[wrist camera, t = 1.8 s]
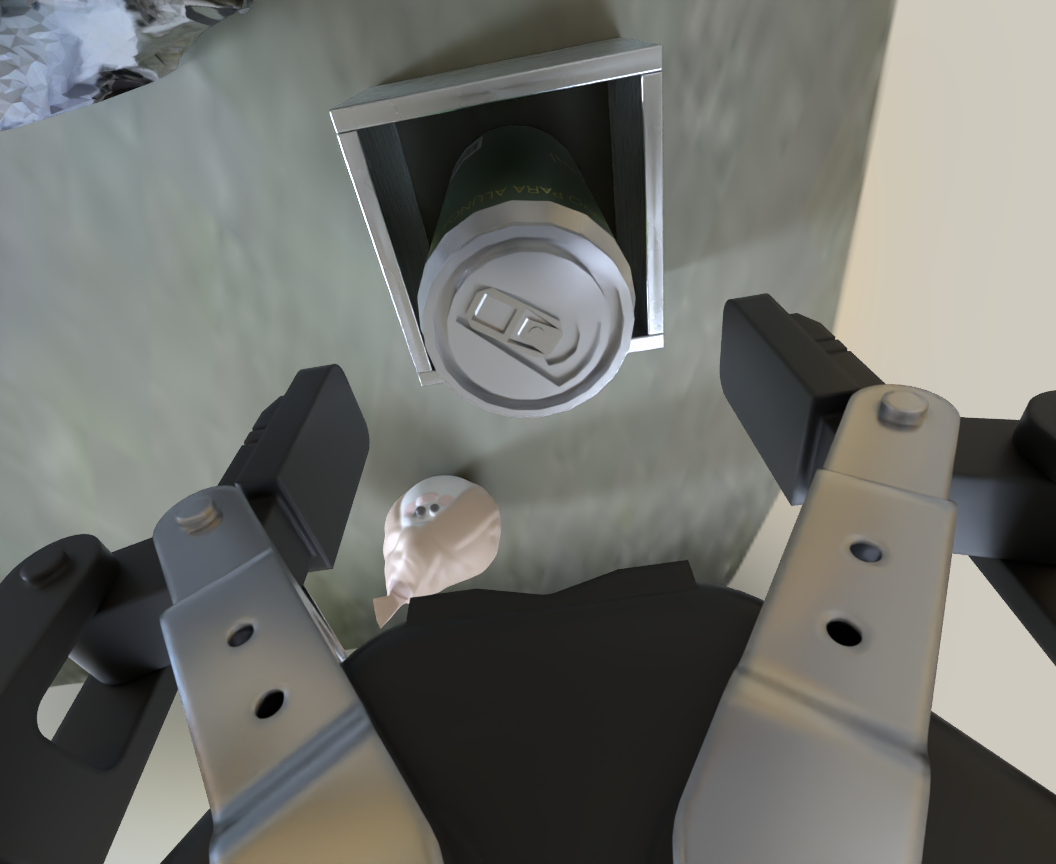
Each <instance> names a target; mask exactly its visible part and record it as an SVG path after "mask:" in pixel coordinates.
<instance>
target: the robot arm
mask: <svg viewBox="0 0 1056 864" xmlns="http://www.w3.org/2000/svg"><path fill="white" fill-rule="evenodd" d="M720 379H721V385H722V389H723V392H724V395H725V397H726V398H727V400H728V402H729V403H730V405H731V407H732V408H733V410H734V412H735V413H736V415H737V417H738V418H739V420H740V422H741V423H742V425H743V427H744V428H745V430H746V432H747V433H748V435H749V437H750V438H751V440H752V442H753V443H754V445H755V447H756V448H757V450H758V451H759V453H760V455H761V456H762V458H763V460H764V461H765V463H766V465H767V466H768V468H769V470H770V471H771V473H772V475H773V476H774V478H775V480H776V481H777V483H778V485H779V486H780V488H781V490H782V491H783V493H784V495H785V496H786V498H787V499H788V501H789V503H790V505H791V506H794V505H802V504H803V505H802V508H801V510H800V513H799V515H798V518H797V520H796V523H795V525H794V528H793V530H792V533H791V535H790V538H789V541H788V543H787V546H786V548H785V550H784V553H783V555H782V558H781V560H780V563H779V566H778V568H777V571H776V573H775V576H774V578H773V581H772V583H771V586H770V588H769V591H768V593H767V596H766V598H765V601H763V600H761V599H759V598H757V597H754V596H752V595H749V594H747V593H745V592H742V591H739V590H735V589H732V588H729V587H725V586H721V585H716V584H711V583H705V582H695V579H694V576H693V573H692V570H691V567H690V564H689V562H688V560H684V561H677V562H670V563H662V564H655V565H647V566H640V567H633V568H625V569H618V570H615V571H613V572H610V573H607V574H604V575H602V576H599V577H596V578H594V579H591V580H588V581H586V582H583V583H580V584H577V585H575V586H572V587H569V588H567V589H564V590H561V591H559V592H556V593H553V594H547V595H538V594H528V593H517V592H507V591H496V590H485V589H471V590H463V591H456V592H449V593H441V594H434V595H426V596H419V597H412V598H410V602H409V608H408V614H407V621H404V622H402V623H399V624H397V625H395V626H393V627H391V628H389V629H387V630H385V631H383V632H382V633H380V634H378V635H377V636H375V637H374V638H372V639H370V640H369V641H367V642H366V643H365V644H363V645H362V646H361V647H359V648H358V649H357V650H356V651H354V652H353V653H352V654H351V655H350V656H349V657H348V655H347V654H346V652H345V651H344V649H343V647H342V646H341V644H340V642H339V641H338V639H337V637H336V636H335V634H334V632H333V631H332V629H331V627H330V626H329V624H328V622H327V621H326V619H325V617H324V616H323V614H322V613H321V611H320V609H319V608H318V606H317V604H316V603H315V601H314V599H313V598H312V596H311V594H310V593H309V591H308V590H307V588H306V587H305V585H304V581H305V578H306V576H307V573H308V572H313V571H320V570H327V569H333V566H334V563H335V559H336V556H337V553H338V550H339V546H340V543H341V540H342V536H343V533H344V530H345V527H346V523H347V520H348V517H349V514H350V510H351V507H352V504H353V500H354V497H355V494H356V491H357V487H358V484H359V481H360V478H361V474H362V471H363V468H364V465H365V461H366V458H367V455H368V451H369V433H368V428H367V425H366V422H365V420H364V417H363V415H362V413H361V410H360V408H359V406H358V403H357V401H356V399H355V397H354V394H353V392H352V390H351V387H350V385H349V383H348V380H347V378H346V376H345V374H344V372H343V370H342V369H341V367H340V366H339V365H337V364H332V365H326V366H320V367H314V368H308V369H302V370H300V371H299V372H298V373H297V375H296V376H295V378H294V380H293V381H292V383H291V385H290V387H289V388H288V390H287V392H286V394H285V395H284V396H280V397H279V398H278V399H277V400H276V401H274V402H273V403H272V404H271V405H270V406H269V407H268V408H266V409H265V410H264V411H263V412H262V413H261V415H260V417H259V418H258V420H257V422H256V423H255V425H254V426H253V428H252V429H253V431H252V432H250V433H249V435H248V436H247V438H246V440H245V441H244V444H245V445H242V446H241V448H240V449H239V451H238V453H237V454H236V456H235V458H234V459H233V461H232V463H231V464H230V466H229V467H228V469H227V471H226V472H225V474H224V476H223V477H222V479H221V481H220V482H219V484H218V485H217V486H215V487H210V488H207V489H204V490H201V491H198V492H196V493H194V494H192V495H190V496H188V497H186V498H185V499H183V500H181V501H180V502H179V503H177V504H176V505H174V506H173V507H172V508H171V509H170V510H168V511H167V512H166V513H165V514H164V515H163V517H162V518H161V519H160V520H159V522H158V523H157V525H156V527H155V529H154V532H153V537H152V538H149V539H147V540H144V541H141V542H139V543H136V544H133V545H131V546H128V547H125V548H122V549H120V550H117V551H114V552H112V553H111V552H110V551H109V550H108V549H107V548H106V547H105V546H104V545H103V544H102V543H101V542H100V540H99V539H98V538H97V537H95V536H93V535H89V534H80V535H74V536H70V537H66V538H63V539H60V540H58V541H56V542H53V543H51V544H49V545H47V546H45V547H43V548H42V549H40V550H38V551H37V552H35V553H33V554H32V555H30V556H29V557H28V558H26V559H25V560H24V561H22V562H21V563H20V564H18V565H17V566H16V567H15V568H14V569H13V570H12V571H11V572H10V573H9V574H8V575H7V576H6V577H5V579H4V580H3V581H2V582H1V583H0V864H103V863H104V861H105V859H106V856H107V854H108V852H109V849H110V847H111V845H112V842H113V840H114V837H115V835H116V833H117V831H118V828H119V826H120V824H121V821H122V819H123V817H124V814H125V812H126V809H127V807H128V805H129V802H130V800H131V798H132V795H133V793H134V790H135V788H136V786H137V784H138V781H139V779H140V777H141V774H142V772H143V770H144V767H145V765H146V763H147V760H148V758H149V756H150V753H151V751H152V749H153V746H154V744H155V742H156V739H157V737H158V735H159V732H160V730H161V728H162V725H163V723H164V720H165V718H166V716H167V714H168V711H169V709H170V706H171V704H172V702H173V700H174V697H175V695H176V692H177V690H179V694H180V698H181V702H182V705H183V709H184V713H185V716H186V720H187V724H188V727H189V731H190V735H191V738H192V742H193V746H194V750H195V753H196V757H197V761H198V764H199V768H200V771H201V775H202V779H203V782H204V786H205V790H206V794H207V797H208V801H209V805H210V809H209V810H208V811H207V812H206V813H205V814H204V816H203V817H202V818H201V819H200V820H199V821H198V822H197V823H196V824H195V825H194V827H193V828H192V829H191V830H190V831H189V832H188V833H187V834H186V836H185V837H184V838H183V839H182V840H181V841H180V842H179V843H178V844H177V845H176V847H175V848H174V849H173V850H172V851H171V852H170V853H169V854H168V855H167V857H166V858H165V859H164V860H163V861H162V862H161V863H160V864H1056V795H1055V794H1054V793H1052V792H1051V791H1049V790H1048V789H1046V788H1045V787H1043V786H1042V785H1041V784H1039V783H1038V782H1036V781H1035V780H1033V779H1032V778H1030V777H1029V776H1027V775H1026V774H1024V773H1023V772H1021V771H1020V770H1018V769H1017V768H1015V767H1014V766H1012V765H1011V764H1009V763H1008V762H1006V761H1005V760H1003V759H1002V758H1000V757H999V756H997V755H996V754H994V753H993V752H992V751H990V750H988V749H987V748H986V747H984V746H983V745H981V744H980V743H978V742H977V741H975V740H974V739H972V738H971V737H969V736H968V735H966V734H965V733H963V732H962V731H960V730H959V729H957V728H956V727H954V726H953V725H951V724H950V723H948V722H947V721H945V720H944V719H942V718H941V717H939V716H938V715H937V714H935V713H934V712H932V711H931V708H932V700H933V692H934V685H935V678H936V670H937V662H938V655H939V648H940V640H941V633H942V625H943V617H944V610H945V603H946V595H947V588H948V580H949V573H950V565H951V558H952V553H954V554H962V555H968V556H969V557H970V558H971V560H972V561H973V562H974V563H975V564H976V566H977V567H978V568H979V570H980V571H981V572H982V573H983V575H984V576H985V577H986V578H987V580H988V581H989V582H990V584H991V585H992V586H993V587H994V589H995V590H996V591H997V592H998V594H999V595H1000V596H1001V597H1002V599H1003V600H1004V601H1005V602H1006V604H1007V605H1008V606H1009V608H1010V609H1011V610H1012V611H1013V613H1014V614H1015V615H1016V616H1017V617H1018V619H1019V620H1020V621H1021V623H1022V624H1023V625H1024V626H1025V628H1026V629H1027V630H1028V631H1029V633H1030V634H1031V635H1032V637H1033V638H1034V639H1035V640H1036V642H1037V643H1038V644H1039V646H1040V647H1041V648H1042V649H1043V651H1044V652H1045V653H1046V654H1047V656H1048V657H1049V658H1050V659H1051V661H1052V662H1053V663H1054V664H1055V666H1056V390H1055V391H1048V392H1044V393H1041V394H1039V395H1037V396H1035V397H1033V398H1032V399H1031V400H1030V401H1029V403H1028V405H1027V407H1026V409H1025V411H1024V413H1023V415H1022V417H1021V419H1020V420H1006V419H985V418H964V417H960V415H959V413H958V411H957V410H956V408H955V407H954V406H953V405H952V404H951V403H950V402H948V401H947V400H946V399H944V398H943V397H940V396H939V395H937V394H934V393H932V392H929V391H927V390H924V389H920V388H916V387H912V386H905V385H895V384H885V383H884V382H883V381H882V380H881V379H879V378H878V377H877V376H876V375H875V374H874V373H873V372H872V371H871V370H870V369H869V368H868V367H867V366H866V365H865V364H863V362H861V361H860V360H859V359H858V358H857V357H856V356H855V355H854V354H853V353H852V352H851V351H847V348H846V347H845V346H844V345H843V344H842V343H841V342H840V341H839V340H835V336H834V335H833V334H832V333H831V332H829V331H828V330H827V329H826V328H825V327H824V326H823V325H822V324H821V323H819V322H817V321H814V320H812V319H810V318H807V317H805V316H803V315H800V314H798V313H795V314H788V313H787V312H786V311H785V310H784V309H783V308H782V307H781V306H780V305H779V304H778V303H777V302H776V301H775V300H774V299H773V298H772V297H771V296H770V295H769V294H767V293H766V294H759V295H753V296H747V297H741V298H735V299H729V300H727V302H726V304H725V307H724V312H723V326H722V341H721V356H720ZM68 657H69V658H71V659H72V660H73V661H75V662H76V663H77V664H78V665H80V666H81V667H82V668H84V669H85V670H86V671H87V672H89V673H90V674H89V676H88V678H87V679H86V681H85V683H84V685H83V686H82V688H81V690H80V692H79V693H78V695H77V697H76V699H75V700H74V702H73V704H72V706H71V707H70V709H69V711H68V712H67V714H66V716H65V718H64V720H63V721H62V723H61V725H60V726H59V728H58V730H57V732H56V734H55V735H54V737H53V739H52V740H51V741H50V740H48V739H47V738H45V737H44V736H43V735H42V734H41V732H40V731H39V728H38V724H37V711H38V707H39V704H40V702H41V700H42V698H43V696H44V694H45V693H46V691H47V689H48V688H49V686H50V685H51V683H52V682H53V680H54V678H55V677H56V675H57V674H58V672H59V670H60V669H61V667H62V666H63V664H64V662H65V661H66V659H67V658H68Z"/></svg>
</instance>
